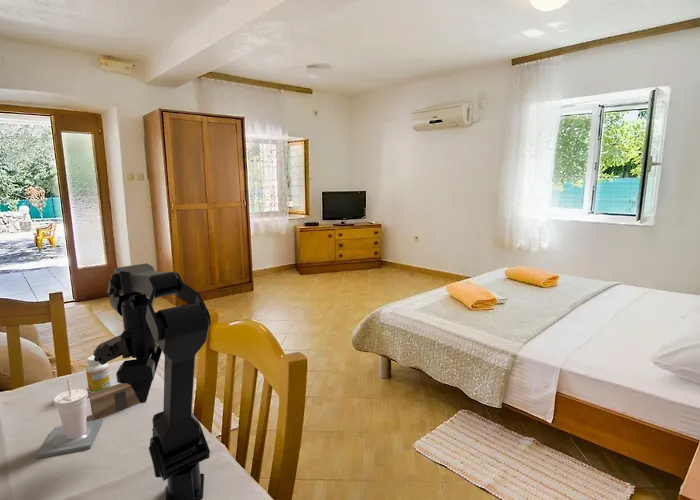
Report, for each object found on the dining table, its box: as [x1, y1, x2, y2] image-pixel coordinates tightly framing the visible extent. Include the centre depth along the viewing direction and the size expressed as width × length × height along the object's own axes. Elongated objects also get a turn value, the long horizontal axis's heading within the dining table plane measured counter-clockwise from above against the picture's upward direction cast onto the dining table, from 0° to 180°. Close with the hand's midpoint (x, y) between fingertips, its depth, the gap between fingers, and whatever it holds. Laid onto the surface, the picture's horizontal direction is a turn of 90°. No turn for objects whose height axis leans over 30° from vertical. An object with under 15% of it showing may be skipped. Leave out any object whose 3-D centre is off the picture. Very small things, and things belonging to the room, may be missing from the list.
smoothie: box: [53, 378, 89, 439], centre depth 90 cm, size 6×6×14 cm
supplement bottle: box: [85, 354, 112, 393], centre depth 112 cm, size 5×5×10 cm
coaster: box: [36, 418, 104, 459], centre depth 91 cm, size 10×10×1 cm
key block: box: [87, 383, 141, 420], centre depth 103 cm, size 3×12×6 cm, turn 135°
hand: (146, 391), depth 86 cm, fingers open, 9 cm apart
